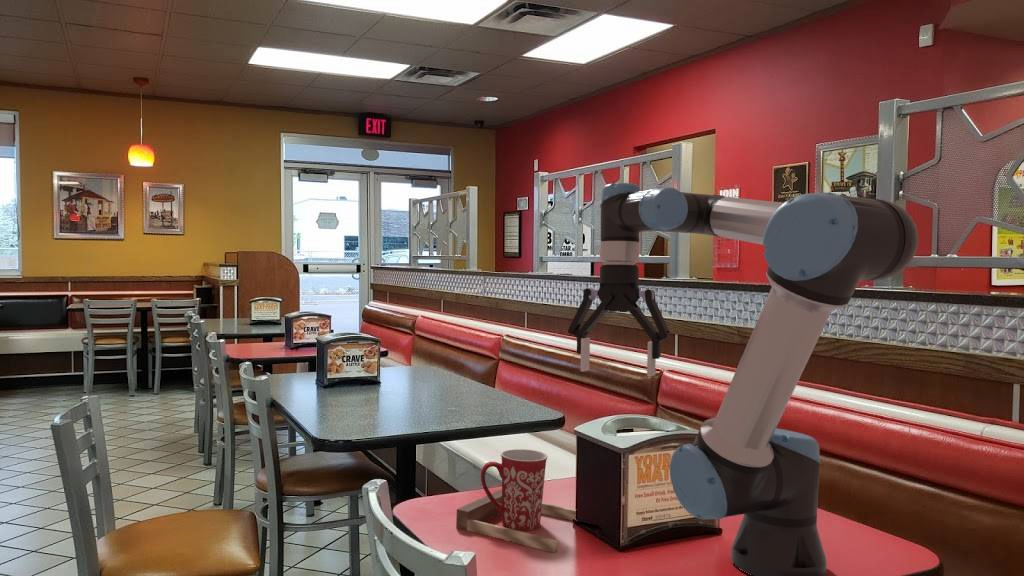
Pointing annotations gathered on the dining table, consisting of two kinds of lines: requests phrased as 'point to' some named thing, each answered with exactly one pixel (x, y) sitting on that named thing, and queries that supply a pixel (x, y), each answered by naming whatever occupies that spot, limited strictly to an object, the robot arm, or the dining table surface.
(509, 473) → the mug
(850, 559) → the dining table surface
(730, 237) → the robot arm
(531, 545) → the channel
